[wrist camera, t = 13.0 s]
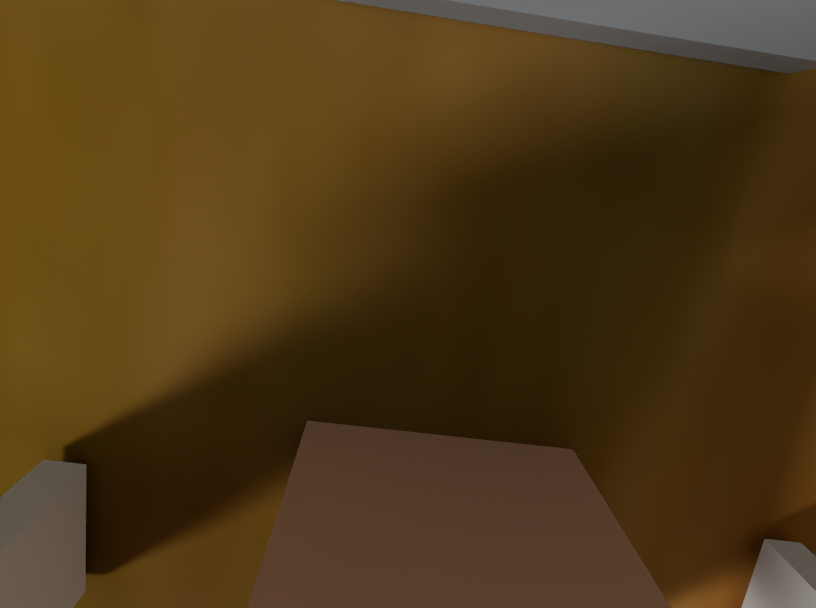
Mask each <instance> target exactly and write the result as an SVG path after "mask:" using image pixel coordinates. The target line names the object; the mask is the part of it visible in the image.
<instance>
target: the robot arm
mask: <svg viewBox="0 0 816 608" xmlns="http://www.w3.org/2000/svg"><path fill="white" fill-rule="evenodd" d="M85 587H86V464H79V463H69V462H60V461H51V460H43V461H42V462H40V463H39V464H38V465H37V466H36V467H35V468H33V469H32V470H31V471H30V472H29V473H28V474H27V475H25V476H24V477H23V478H22V479H21V480H20V481H18V482H17V483H16V484H15V485H14V486H13V487H12V488H10V489H9V490H8V491H7V492H6V493H5V494H3V495H2V496H1V497H0V608H73V607H74V606H75V605H76V603H77V602H78V600H79V599H80V598H81V596H82V595H83V593H84V592H85ZM741 608H816V556H815V555H814V554H813V553H812V552H810V551H809V550H808V549H807V548H806V547H805V546H804V545H803V544H802V543H799V542H790V541H781V540H772V539H764V542H763V545H762V548H761V551H760V554H759V557H758V560H757V563H756V566H755V569H754V572H753V575H752V578H751V581H750V584H749V587H748V590H747V592H746V595H745V598H744V601H743V604H742V607H741Z"/></svg>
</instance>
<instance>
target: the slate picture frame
mask: <svg viewBox="0 0 816 608" xmlns="http://www.w3.org/2000/svg"><path fill="white" fill-rule="evenodd" d="M338 1H344V2H350V3H356V4H362V5H369V6H375V7H381V8H387V9H393V10H399V11H406V12H412V13H418V14H424V15H430V16H436V17H442V18H449V19H455V20H461V21H467V22H473V23H479V24H486V25H492V26H498V27H504V28H510V29H516V30H522V31H529V32H535V33H541V34H547V35H553V36H559V37H566V38H572V39H578V40H584V41H590V42H596V43H602V44H609V45H615V46H621V47H627V48H633V49H639V50H646V51H652V52H658V53H664V54H670V55H676V56H682V57H689V58H695V59H701V60H707V61H713V62H719V63H725V64H732V65H738V66H744V67H750V68H756V69H762V70H769V71H775V72H781V73H787V74H789V73H794V72H799V71H803V70H808V69H813V68H816V0H338Z"/></svg>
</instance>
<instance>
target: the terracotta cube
mask: <svg viewBox="0 0 816 608" xmlns="http://www.w3.org/2000/svg"><path fill="white" fill-rule="evenodd" d="M248 608H671V607H670V605H669V603H668V602H667V600H666V599H665V597H664V595H663V594H662V592H661V590H660V589H659V587H658V586H657V584H656V582H655V581H654V579H653V578H652V576H651V574H650V573H649V571H648V569H647V568H646V566H645V565H644V563H643V561H642V560H641V558H640V557H639V555H638V553H637V552H636V550H635V549H634V547H633V545H632V544H631V542H630V540H629V539H628V537H627V536H626V534H625V532H624V531H623V529H622V528H621V526H620V524H619V523H618V521H617V519H616V518H615V516H614V515H613V513H612V511H611V510H610V508H609V507H608V505H607V503H606V502H605V500H604V498H603V497H602V495H601V494H600V492H599V490H598V489H597V487H596V486H595V484H594V482H593V481H592V479H591V478H590V476H589V474H588V473H587V471H586V469H585V468H584V466H583V465H582V463H581V461H580V460H579V458H578V457H577V455H576V453H575V452H574V450H573V449H566V448H557V447H547V446H538V445H529V444H520V443H510V442H501V441H492V440H483V439H473V438H464V437H455V436H446V435H436V434H427V433H418V432H409V431H400V430H390V429H381V428H372V427H363V426H353V425H344V424H335V423H326V422H316V421H307V423H306V426H305V429H304V432H303V435H302V438H301V441H300V445H299V448H298V451H297V454H296V457H295V460H294V463H293V466H292V470H291V473H290V476H289V479H288V482H287V485H286V488H285V492H284V495H283V498H282V501H281V504H280V507H279V510H278V514H277V517H276V520H275V523H274V526H273V529H272V532H271V535H270V539H269V542H268V545H267V548H266V551H265V554H264V557H263V561H262V564H261V567H260V570H259V573H258V576H257V579H256V582H255V586H254V589H253V592H252V595H251V598H250V601H249V604H248Z"/></svg>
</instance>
